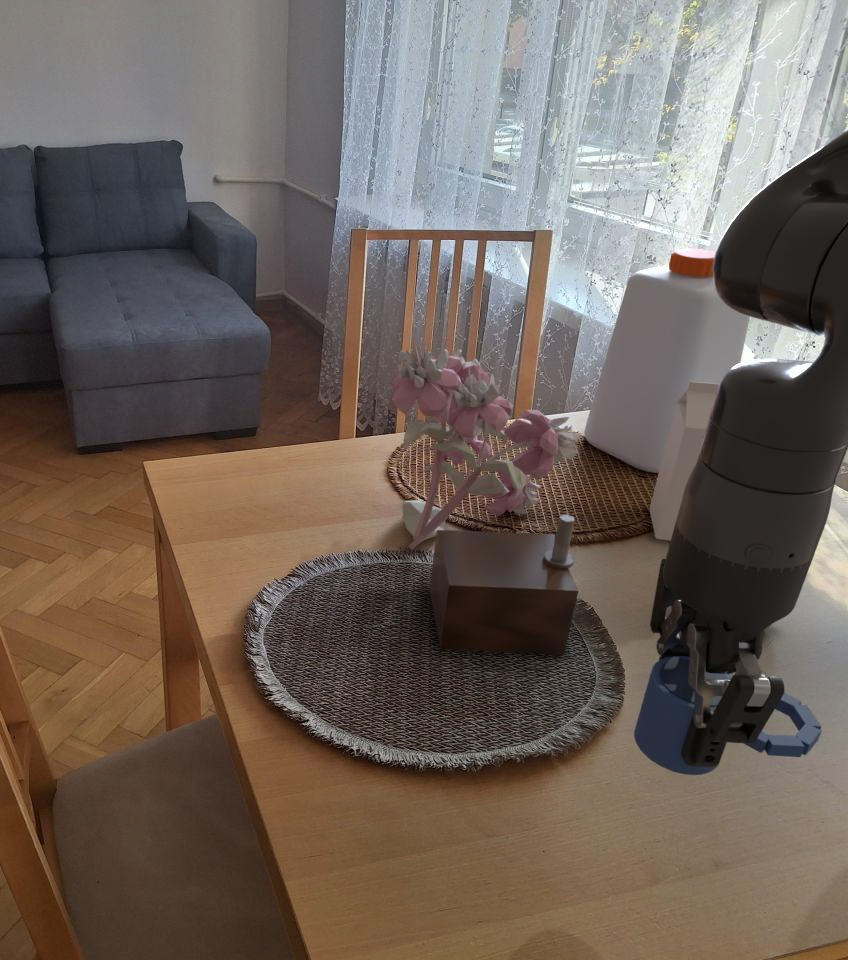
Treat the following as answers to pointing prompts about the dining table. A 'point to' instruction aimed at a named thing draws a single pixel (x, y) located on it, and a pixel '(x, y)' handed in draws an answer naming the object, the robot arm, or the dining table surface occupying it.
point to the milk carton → (680, 455)
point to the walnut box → (504, 590)
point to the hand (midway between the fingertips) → (681, 727)
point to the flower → (472, 437)
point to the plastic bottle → (662, 356)
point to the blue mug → (674, 709)
